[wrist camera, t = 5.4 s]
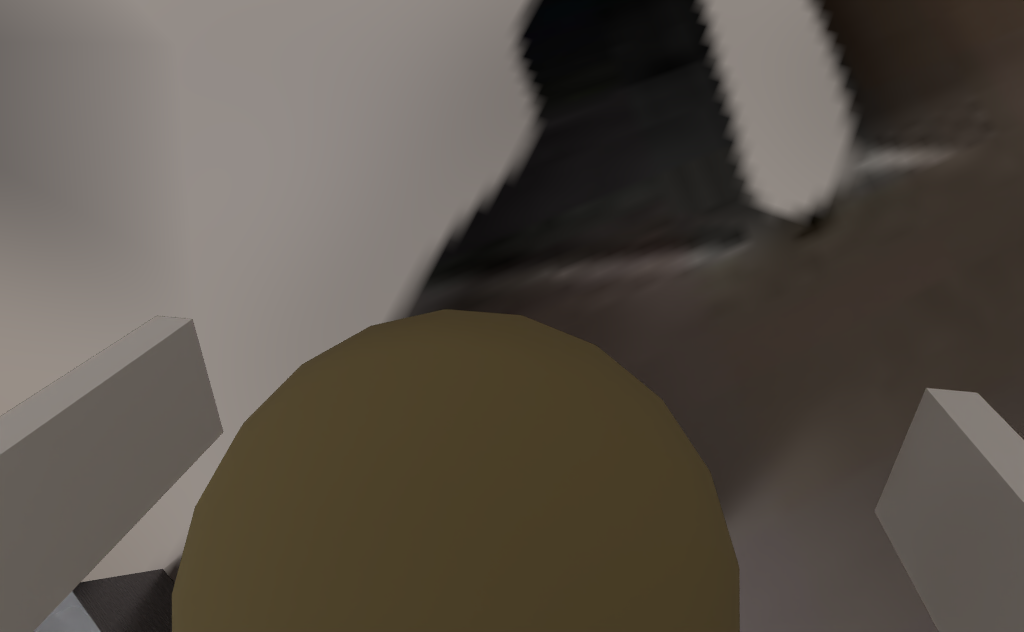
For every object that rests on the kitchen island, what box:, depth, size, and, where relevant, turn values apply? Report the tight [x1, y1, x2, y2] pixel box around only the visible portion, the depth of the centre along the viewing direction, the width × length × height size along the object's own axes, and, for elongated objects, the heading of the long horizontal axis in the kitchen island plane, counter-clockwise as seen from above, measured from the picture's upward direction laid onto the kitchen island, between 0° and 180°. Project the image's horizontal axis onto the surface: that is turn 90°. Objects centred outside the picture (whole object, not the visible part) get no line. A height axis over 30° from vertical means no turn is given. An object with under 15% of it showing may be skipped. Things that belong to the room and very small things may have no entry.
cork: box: [172, 309, 740, 632], centre depth 9 cm, size 6×6×11 cm
